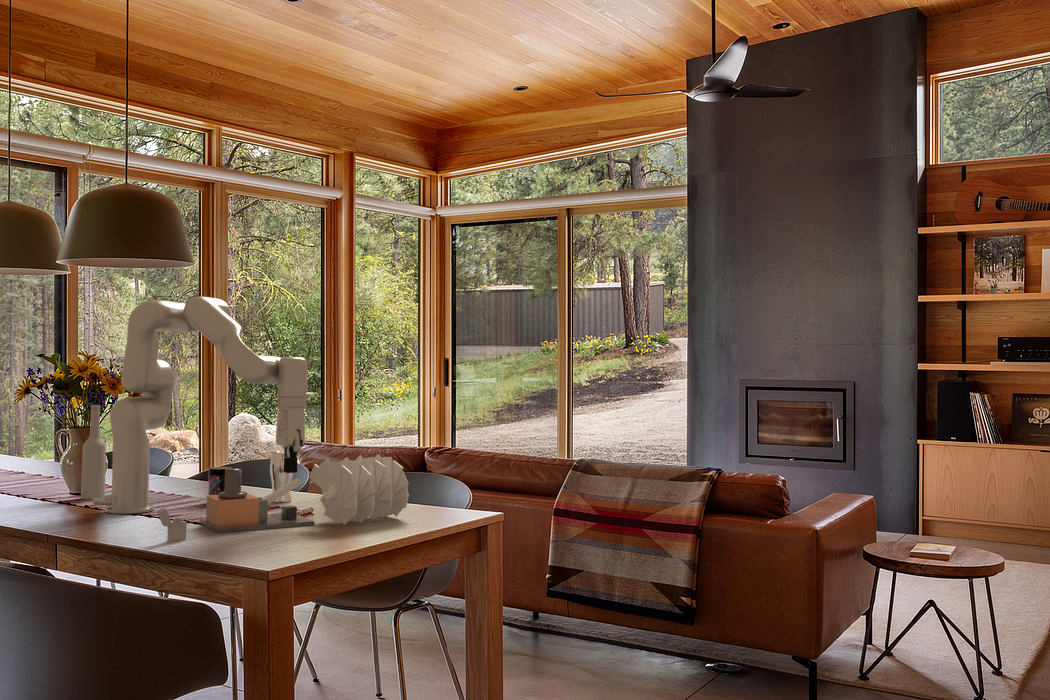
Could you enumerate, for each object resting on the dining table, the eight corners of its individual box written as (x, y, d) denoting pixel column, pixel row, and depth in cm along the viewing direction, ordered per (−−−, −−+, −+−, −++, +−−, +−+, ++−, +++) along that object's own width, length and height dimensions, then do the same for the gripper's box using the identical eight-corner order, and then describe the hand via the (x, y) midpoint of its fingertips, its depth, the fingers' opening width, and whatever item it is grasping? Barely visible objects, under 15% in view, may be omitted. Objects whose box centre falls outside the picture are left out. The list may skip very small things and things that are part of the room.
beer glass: (267, 500, 283) (268, 451, 283) (290, 499, 286) (291, 450, 286) (271, 503, 277) (272, 453, 277) (294, 502, 280) (296, 452, 280)
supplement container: (208, 501, 279) (209, 466, 279) (232, 501, 280) (233, 466, 281) (206, 504, 272) (207, 469, 272) (230, 504, 274) (231, 469, 274)
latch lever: (262, 507, 241) (259, 503, 240) (259, 506, 243) (257, 501, 242) (302, 483, 247) (299, 479, 246) (299, 482, 249) (296, 478, 248)
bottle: (95, 500, 276) (98, 406, 277) (75, 499, 278) (78, 405, 278) (109, 497, 283) (112, 405, 283) (90, 496, 284) (93, 404, 285)
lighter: (181, 538, 220) (182, 504, 220) (186, 539, 219) (187, 505, 219) (155, 543, 214) (156, 508, 214) (160, 544, 213) (161, 509, 213)
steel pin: (222, 523, 233) (223, 471, 233) (214, 519, 239) (215, 468, 239) (249, 521, 237) (251, 470, 237) (241, 517, 243) (243, 467, 243)
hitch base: (216, 533, 228) (217, 502, 228) (199, 523, 241) (200, 494, 241) (314, 525, 241) (315, 496, 242) (293, 516, 255) (294, 488, 255)
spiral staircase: (404, 532, 257) (336, 539, 237) (366, 498, 267) (297, 503, 247) (429, 474, 253) (361, 477, 233) (389, 442, 263) (321, 443, 243)
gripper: (269, 402, 251) (267, 470, 250) (287, 404, 238) (286, 476, 238) (296, 402, 255) (294, 469, 254) (315, 404, 242) (314, 474, 242)
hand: (290, 472), depth 246 cm, fingers closed
